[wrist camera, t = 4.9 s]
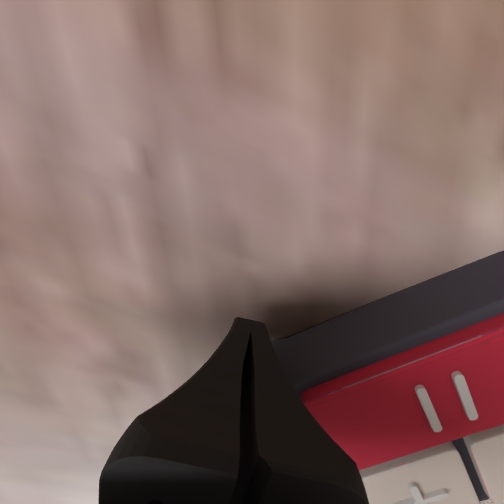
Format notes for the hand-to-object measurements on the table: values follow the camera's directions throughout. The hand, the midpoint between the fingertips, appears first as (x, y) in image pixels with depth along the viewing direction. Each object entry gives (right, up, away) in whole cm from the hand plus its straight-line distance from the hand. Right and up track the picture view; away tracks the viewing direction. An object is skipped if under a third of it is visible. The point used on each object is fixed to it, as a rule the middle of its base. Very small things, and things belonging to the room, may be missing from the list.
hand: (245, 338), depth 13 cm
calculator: (+7, -3, +3) cm, 9 cm away
